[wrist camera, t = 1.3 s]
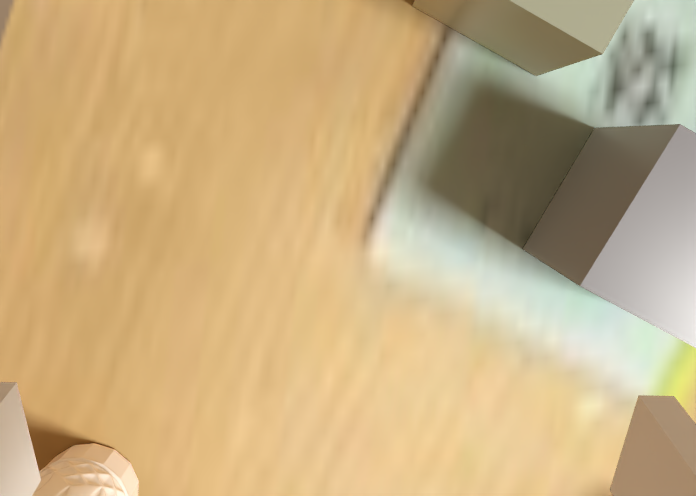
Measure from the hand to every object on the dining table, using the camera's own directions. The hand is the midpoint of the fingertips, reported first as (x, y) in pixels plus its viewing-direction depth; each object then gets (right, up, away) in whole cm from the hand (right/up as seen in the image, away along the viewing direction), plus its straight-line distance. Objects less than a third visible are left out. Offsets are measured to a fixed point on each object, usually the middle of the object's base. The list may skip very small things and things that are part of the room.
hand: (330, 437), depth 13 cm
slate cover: (+18, +6, +26) cm, 33 cm away
